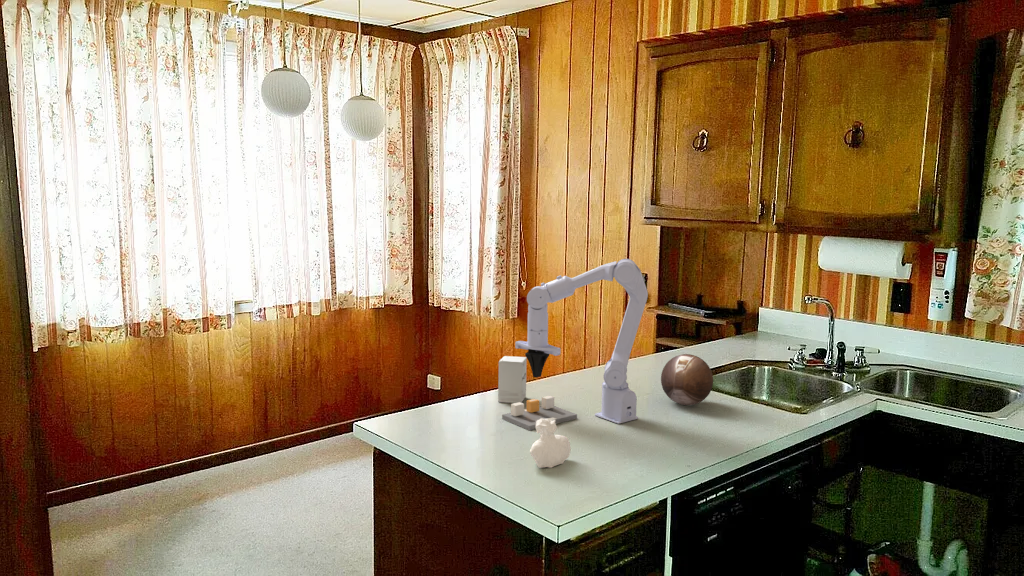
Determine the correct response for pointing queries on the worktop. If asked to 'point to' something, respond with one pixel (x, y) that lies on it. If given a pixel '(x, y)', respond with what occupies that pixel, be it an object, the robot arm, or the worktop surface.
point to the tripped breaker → (532, 405)
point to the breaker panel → (537, 414)
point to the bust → (549, 445)
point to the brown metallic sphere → (687, 379)
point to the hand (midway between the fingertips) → (537, 376)
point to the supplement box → (512, 379)
